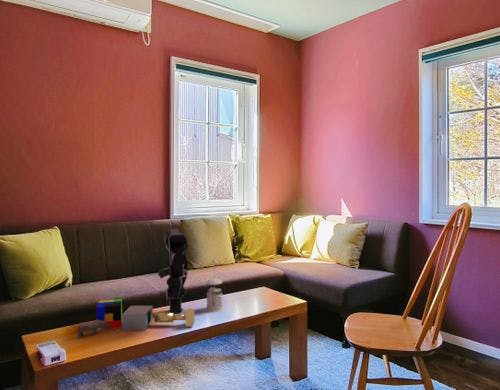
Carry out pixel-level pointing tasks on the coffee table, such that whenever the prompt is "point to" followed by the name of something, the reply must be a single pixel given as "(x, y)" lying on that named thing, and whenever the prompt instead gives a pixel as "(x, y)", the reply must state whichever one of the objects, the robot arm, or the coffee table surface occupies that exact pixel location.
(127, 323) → the housing
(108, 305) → the puzzle toy
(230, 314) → the coffee table surface
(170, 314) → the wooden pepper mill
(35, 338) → the coffee table surface
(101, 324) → the rhino figurine
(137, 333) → the coffee table surface
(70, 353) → the coffee table surface
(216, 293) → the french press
